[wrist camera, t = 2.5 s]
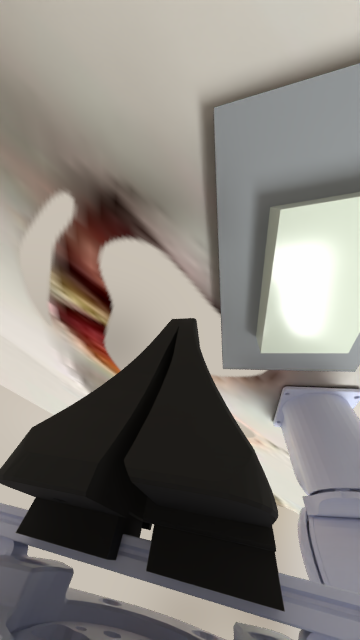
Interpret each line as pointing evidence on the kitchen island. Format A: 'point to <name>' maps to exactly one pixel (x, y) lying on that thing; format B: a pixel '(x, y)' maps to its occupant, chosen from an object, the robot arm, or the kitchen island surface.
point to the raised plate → (279, 196)
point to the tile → (311, 277)
